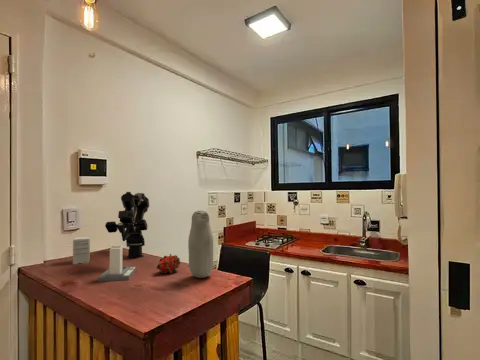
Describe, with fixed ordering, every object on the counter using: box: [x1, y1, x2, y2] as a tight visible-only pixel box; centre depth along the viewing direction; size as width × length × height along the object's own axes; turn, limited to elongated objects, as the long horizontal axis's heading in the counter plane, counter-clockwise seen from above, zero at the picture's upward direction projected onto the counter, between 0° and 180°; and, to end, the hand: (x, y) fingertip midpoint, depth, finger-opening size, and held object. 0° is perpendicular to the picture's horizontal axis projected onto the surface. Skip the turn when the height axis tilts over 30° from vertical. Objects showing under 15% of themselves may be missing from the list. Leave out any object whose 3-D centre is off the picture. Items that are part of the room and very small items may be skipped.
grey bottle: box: [187, 210, 214, 279], centre depth 116 cm, size 10×10×28 cm
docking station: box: [97, 265, 137, 283], centre depth 118 cm, size 14×12×2 cm
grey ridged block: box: [72, 236, 91, 265], centre depth 142 cm, size 7×7×13 cm
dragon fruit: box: [156, 253, 181, 274], centre depth 122 cm, size 8×8×12 cm
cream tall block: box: [109, 245, 124, 274], centre depth 115 cm, size 4×4×12 cm
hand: (123, 240), depth 128 cm, fingers closed
